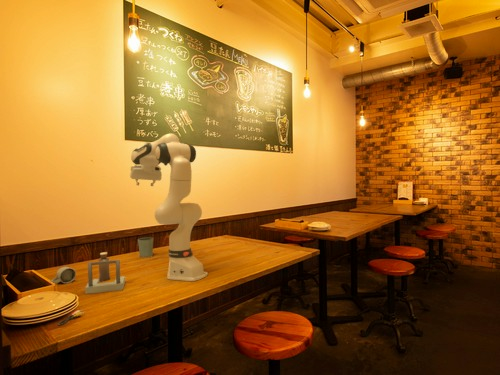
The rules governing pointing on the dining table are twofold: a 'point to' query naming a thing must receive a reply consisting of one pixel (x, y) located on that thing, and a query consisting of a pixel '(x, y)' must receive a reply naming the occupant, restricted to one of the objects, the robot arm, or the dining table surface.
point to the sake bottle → (104, 268)
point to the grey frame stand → (97, 287)
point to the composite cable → (71, 317)
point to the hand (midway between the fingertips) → (144, 185)
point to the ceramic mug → (64, 275)
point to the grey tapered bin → (145, 247)
